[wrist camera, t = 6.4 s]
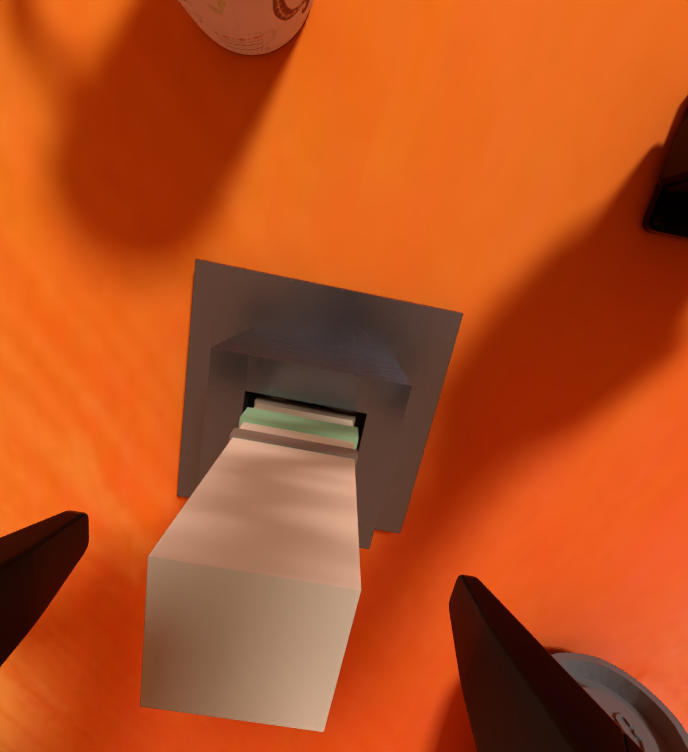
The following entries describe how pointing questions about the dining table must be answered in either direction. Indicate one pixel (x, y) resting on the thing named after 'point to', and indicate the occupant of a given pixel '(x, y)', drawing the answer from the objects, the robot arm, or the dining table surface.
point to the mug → (249, 22)
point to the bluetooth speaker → (627, 703)
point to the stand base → (316, 374)
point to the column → (259, 575)
